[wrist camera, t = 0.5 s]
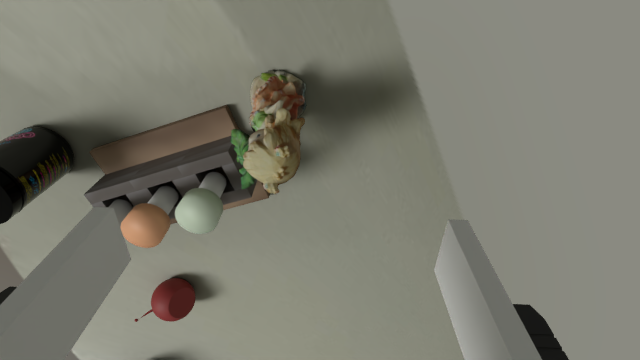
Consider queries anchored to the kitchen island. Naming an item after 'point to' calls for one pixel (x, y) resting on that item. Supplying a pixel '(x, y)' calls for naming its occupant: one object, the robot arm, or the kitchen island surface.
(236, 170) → the button board
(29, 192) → the supplement container
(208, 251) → the kitchen island surface
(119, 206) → the cream button
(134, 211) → the orange capped peg
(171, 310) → the fruit
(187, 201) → the sage button
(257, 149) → the figurine
